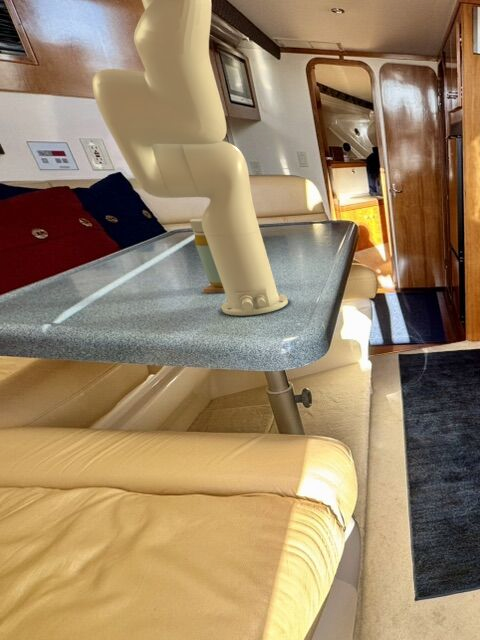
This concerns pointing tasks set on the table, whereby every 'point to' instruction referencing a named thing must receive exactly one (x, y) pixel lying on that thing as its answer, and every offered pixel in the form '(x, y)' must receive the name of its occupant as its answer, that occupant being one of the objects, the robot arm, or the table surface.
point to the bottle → (205, 253)
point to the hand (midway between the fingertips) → (204, 128)
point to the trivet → (213, 289)
